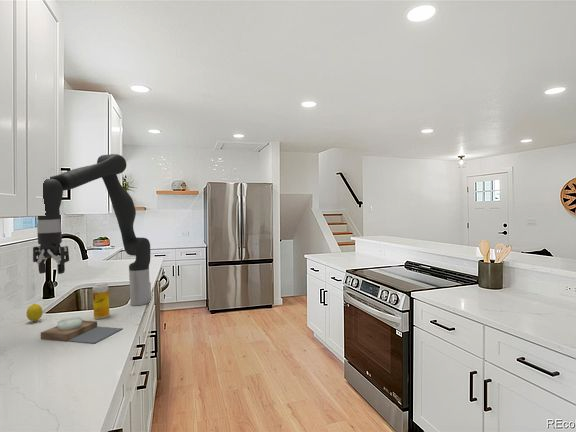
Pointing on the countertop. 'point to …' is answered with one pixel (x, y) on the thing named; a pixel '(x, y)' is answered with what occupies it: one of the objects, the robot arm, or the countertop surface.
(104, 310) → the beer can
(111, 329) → the mat
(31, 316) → the lemon
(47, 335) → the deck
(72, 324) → the pale green rounded disc
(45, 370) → the countertop surface
